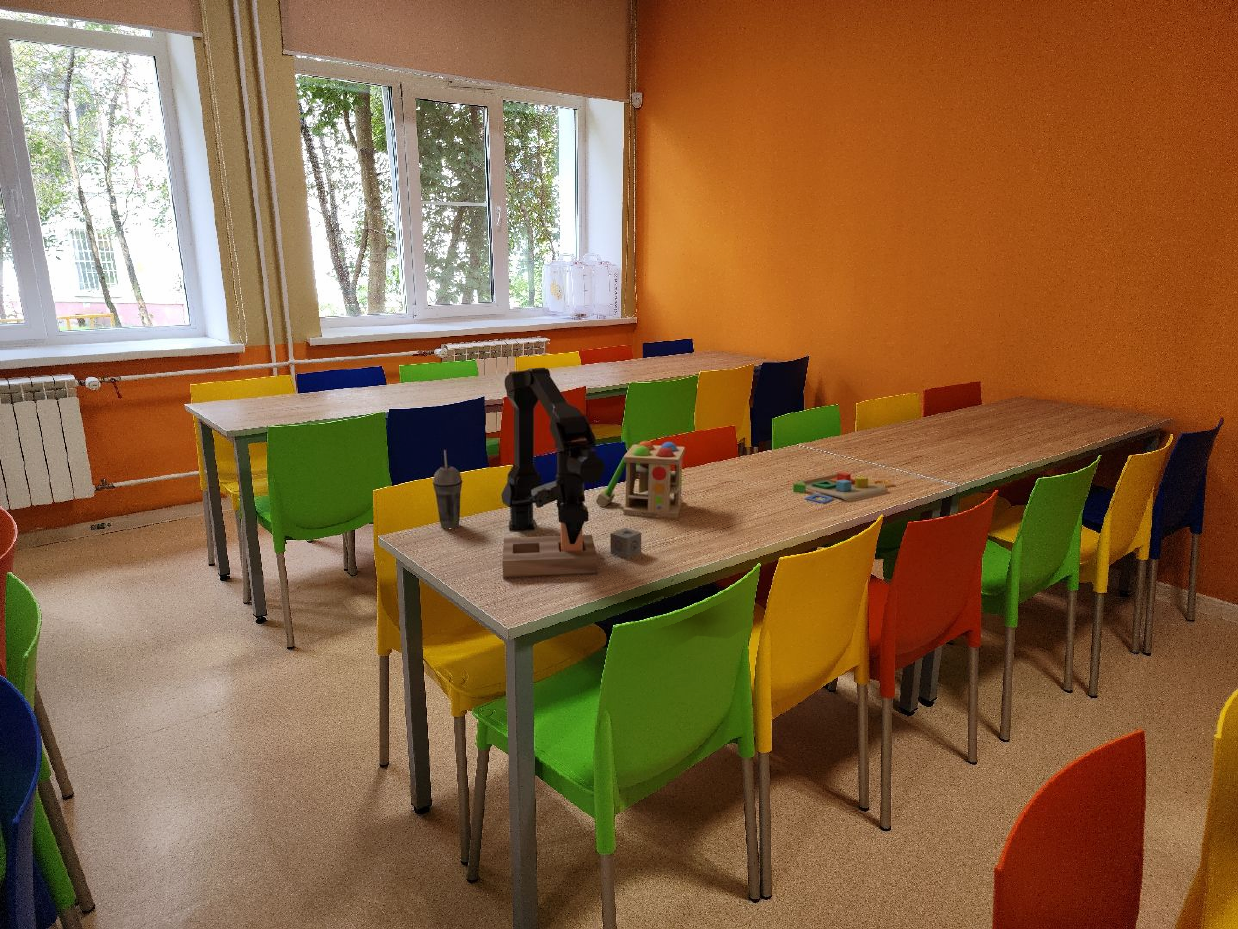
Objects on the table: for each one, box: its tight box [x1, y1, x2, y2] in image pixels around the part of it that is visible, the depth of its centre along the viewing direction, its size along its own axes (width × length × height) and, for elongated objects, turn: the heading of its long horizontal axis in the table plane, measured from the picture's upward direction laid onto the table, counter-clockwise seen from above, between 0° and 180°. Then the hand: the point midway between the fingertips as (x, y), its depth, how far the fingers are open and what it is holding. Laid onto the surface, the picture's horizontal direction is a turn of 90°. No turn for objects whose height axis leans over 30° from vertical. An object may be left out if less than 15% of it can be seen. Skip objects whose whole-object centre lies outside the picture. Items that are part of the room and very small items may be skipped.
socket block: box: [501, 534, 598, 580], centre depth 175 cm, size 14×20×4 cm
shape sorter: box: [792, 471, 896, 505], centre depth 231 cm, size 34×19×5 cm, turn 122°
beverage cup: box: [432, 449, 463, 530], centre depth 197 cm, size 7×7×20 cm
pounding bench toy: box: [595, 440, 686, 519], centre depth 213 cm, size 23×14×18 cm, turn 79°
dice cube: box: [609, 527, 642, 559], centre depth 182 cm, size 5×5×5 cm
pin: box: [560, 522, 583, 552], centre depth 174 cm, size 4×4×10 cm
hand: (571, 540), depth 175 cm, fingers closed on pin, 4 cm apart
